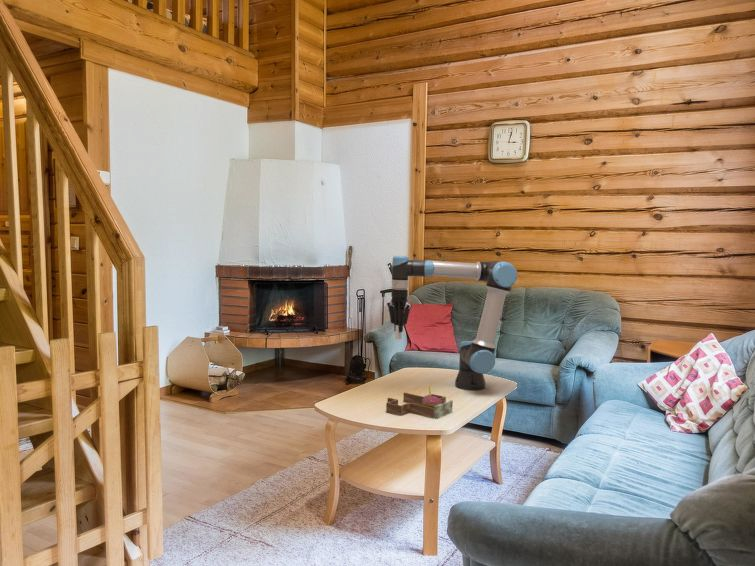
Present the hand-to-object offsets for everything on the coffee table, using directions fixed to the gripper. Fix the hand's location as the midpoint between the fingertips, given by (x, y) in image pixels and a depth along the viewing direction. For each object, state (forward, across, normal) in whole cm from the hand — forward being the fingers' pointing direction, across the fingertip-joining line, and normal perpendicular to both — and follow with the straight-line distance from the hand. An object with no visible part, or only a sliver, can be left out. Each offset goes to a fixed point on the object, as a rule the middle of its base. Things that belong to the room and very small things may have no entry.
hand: (398, 338), depth 280 cm
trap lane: (+26, +22, -14) cm, 37 cm away
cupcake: (+27, +29, -14) cm, 42 cm away
